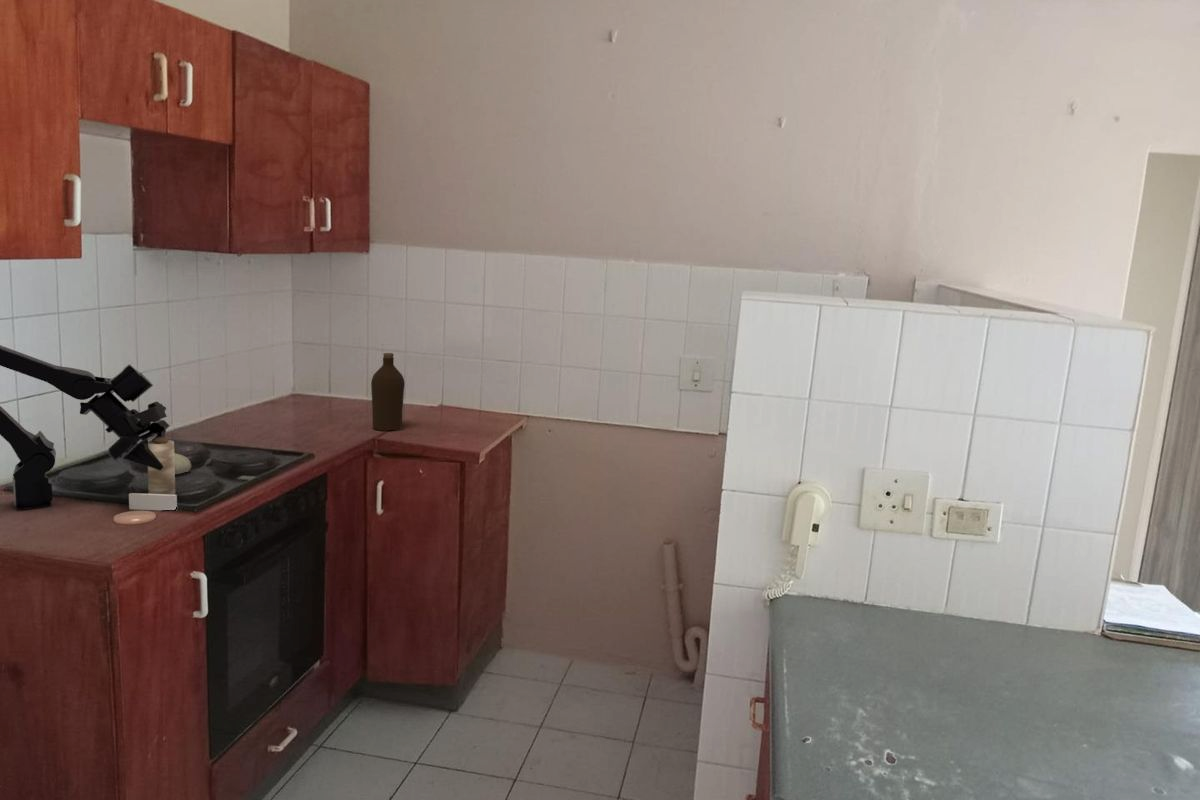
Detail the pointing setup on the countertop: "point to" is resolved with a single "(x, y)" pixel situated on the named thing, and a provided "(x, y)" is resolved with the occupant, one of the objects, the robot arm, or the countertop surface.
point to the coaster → (134, 517)
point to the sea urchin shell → (181, 464)
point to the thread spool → (165, 477)
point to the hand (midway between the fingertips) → (167, 465)
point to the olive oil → (387, 396)
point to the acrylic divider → (152, 501)
